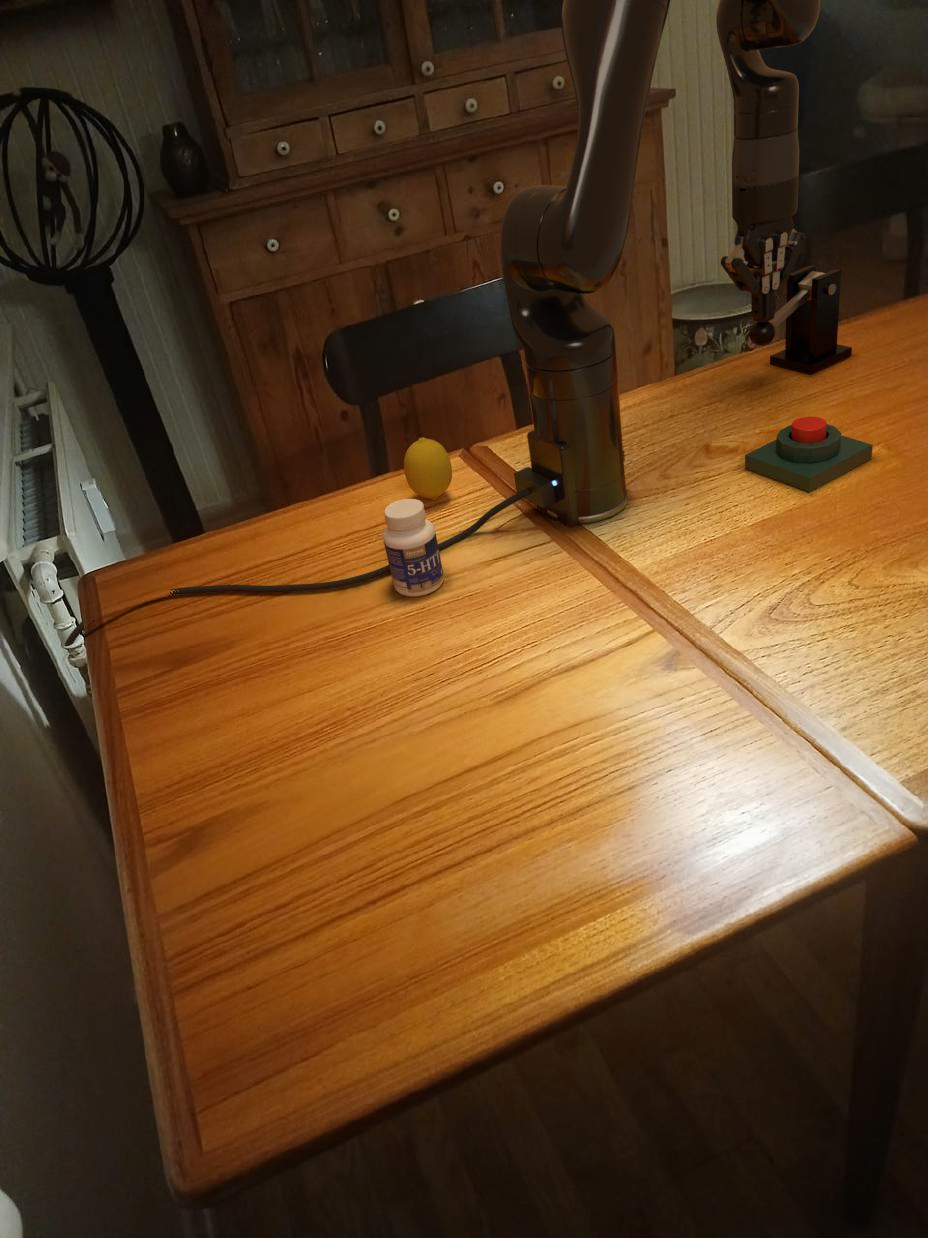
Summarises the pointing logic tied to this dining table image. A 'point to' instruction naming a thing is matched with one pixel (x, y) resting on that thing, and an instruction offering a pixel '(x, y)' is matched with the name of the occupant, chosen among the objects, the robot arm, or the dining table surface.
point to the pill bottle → (412, 549)
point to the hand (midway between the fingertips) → (763, 319)
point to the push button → (808, 430)
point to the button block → (808, 458)
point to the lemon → (427, 468)
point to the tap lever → (782, 312)
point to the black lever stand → (813, 325)
